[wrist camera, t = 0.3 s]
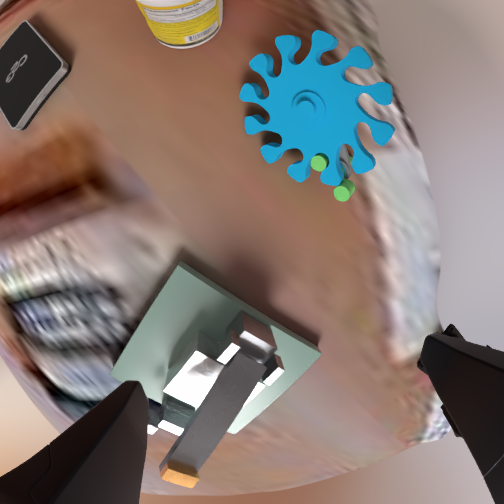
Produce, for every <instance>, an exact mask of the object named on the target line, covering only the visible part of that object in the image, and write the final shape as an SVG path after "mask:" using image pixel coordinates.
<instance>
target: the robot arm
mask: <svg viewBox="0 0 504 504" xmlns="http://www.w3.org/2000/svg"><path fill="white" fill-rule="evenodd" d="M420 358H421V361H420V362H419V363H418V365H417V367H418V368H419V369H420V370H421V371H423V372H424V373H426V374H427V375H428V376H429V378H430V380H431V382H432V384H433V386H434V388H435V390H436V392H437V394H438V396H439V398H440V399H441V401H442V403H443V405H442V406H441V409H442V410H443V414H444V415H445V417H446V419H447V420H448V422H449V424H450V425H451V427H452V429H453V431H454V434H455V436H456V437H462V438H463V439H464V441H465V442H466V444H467V446H468V448H469V450H470V452H471V453H472V455H473V457H474V459H475V461H476V463H477V465H478V467H479V469H480V471H481V473H482V475H483V477H484V480H485V482H486V484H487V487H488V489H489V491H490V493H491V495H492V498H493V500H494V502H495V504H504V352H502V351H499V350H496V349H492V348H491V347H490V346H488V345H487V346H486V347H485V346H481V345H478V344H474V343H471V342H467V341H466V340H465V339H464V338H463V336H462V335H461V334H460V333H459V331H458V330H457V329H456V328H455V326H454V325H453V324H450V325H449V326H448V327H447V328H446V330H445V331H444V332H443V334H440V333H433V334H430V335H428V336H427V337H426V338H425V341H424V345H423V348H422V352H421V357H420ZM148 415H149V402H148V399H147V396H146V394H145V392H144V389H143V387H142V384H141V383H140V382H139V381H137V380H127V381H125V382H123V383H122V384H121V385H120V386H119V387H117V388H116V389H115V390H114V391H113V392H112V393H110V394H109V395H108V396H107V397H106V398H104V399H103V400H102V401H101V402H99V403H98V404H97V405H96V406H95V407H93V408H92V409H91V410H90V411H89V412H87V413H86V414H85V415H84V416H83V417H81V418H80V419H79V420H78V421H76V422H75V423H74V424H73V425H72V426H70V427H69V428H68V429H67V430H65V431H64V432H63V433H62V434H60V435H59V436H58V437H57V438H56V439H54V440H53V441H52V442H51V443H50V445H47V446H45V447H44V448H43V449H42V450H40V451H39V452H38V453H36V454H35V455H34V456H32V457H31V458H30V459H28V460H27V461H25V462H24V463H23V464H21V465H19V466H18V467H16V468H14V469H13V470H11V471H10V472H8V473H6V474H4V475H3V476H1V477H0V504H139V498H140V490H141V483H142V476H143V469H144V463H145V457H146V449H147V432H148Z"/></svg>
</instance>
